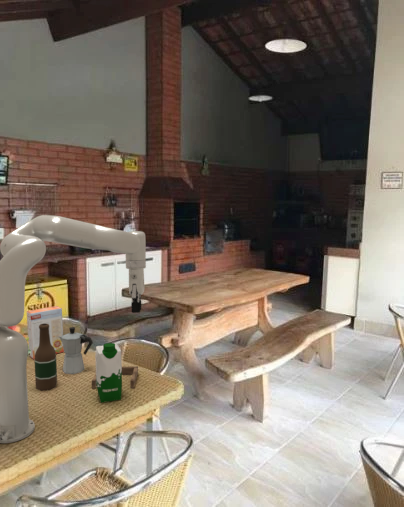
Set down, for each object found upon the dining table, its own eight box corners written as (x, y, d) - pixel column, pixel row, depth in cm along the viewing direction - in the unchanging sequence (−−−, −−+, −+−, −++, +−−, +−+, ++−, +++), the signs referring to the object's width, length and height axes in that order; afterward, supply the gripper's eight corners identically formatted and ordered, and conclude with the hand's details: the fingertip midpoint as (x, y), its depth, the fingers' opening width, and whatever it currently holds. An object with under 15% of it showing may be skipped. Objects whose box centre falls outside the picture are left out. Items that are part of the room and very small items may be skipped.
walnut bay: (133, 388, 158) (133, 380, 158) (92, 388, 158) (91, 380, 157) (137, 373, 171) (137, 366, 171) (99, 373, 171) (99, 366, 170)
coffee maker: (53, 373, 171) (52, 329, 169) (64, 364, 180) (63, 323, 177) (88, 376, 168) (87, 332, 166) (97, 367, 177) (96, 325, 175)
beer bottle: (50, 392, 154) (47, 328, 151) (31, 390, 156) (28, 326, 153) (61, 383, 162) (59, 322, 159) (43, 381, 164) (40, 320, 160)
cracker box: (59, 348, 198) (57, 305, 195) (64, 352, 194) (62, 307, 191) (28, 355, 189) (26, 310, 186) (32, 359, 185) (30, 313, 182)
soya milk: (98, 404, 145) (97, 348, 143) (95, 393, 154) (93, 340, 151) (124, 400, 149) (123, 345, 146) (119, 389, 157) (118, 337, 154)
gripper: (143, 267, 153) (143, 317, 155) (147, 260, 169) (148, 305, 171) (122, 267, 153) (123, 317, 155) (128, 260, 169) (129, 305, 171)
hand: (136, 310), depth 163 cm, fingers open, 2 cm apart
